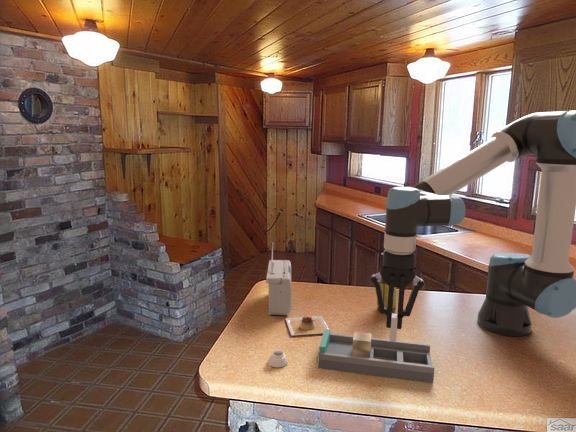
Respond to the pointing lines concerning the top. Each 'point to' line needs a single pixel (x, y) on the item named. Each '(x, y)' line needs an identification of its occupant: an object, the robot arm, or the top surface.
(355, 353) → the maple block
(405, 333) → the top surface
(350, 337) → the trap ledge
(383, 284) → the sauce bottle
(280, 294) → the stereo radio cassette player
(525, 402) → the top surface
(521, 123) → the robot arm
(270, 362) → the white jar
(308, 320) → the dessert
